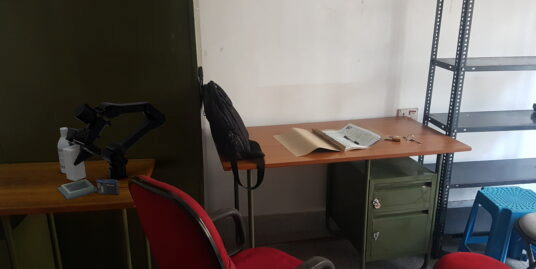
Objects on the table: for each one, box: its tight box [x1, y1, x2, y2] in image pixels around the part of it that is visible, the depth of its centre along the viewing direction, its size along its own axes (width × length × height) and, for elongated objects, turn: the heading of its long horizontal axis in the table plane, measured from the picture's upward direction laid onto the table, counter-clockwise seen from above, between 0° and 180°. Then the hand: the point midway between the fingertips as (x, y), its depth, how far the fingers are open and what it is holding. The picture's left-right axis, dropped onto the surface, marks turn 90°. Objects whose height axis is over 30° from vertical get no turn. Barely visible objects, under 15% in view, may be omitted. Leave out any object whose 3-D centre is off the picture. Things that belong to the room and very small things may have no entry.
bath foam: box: [57, 126, 70, 174], centre depth 189 cm, size 7×7×20 cm
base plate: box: [57, 178, 98, 201], centre depth 173 cm, size 12×12×2 cm
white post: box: [62, 145, 87, 182], centre depth 170 cm, size 5×5×12 cm
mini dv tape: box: [96, 178, 120, 196], centre depth 170 cm, size 8×2×6 cm, turn 80°
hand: (70, 163), depth 168 cm, fingers closed on white post, 5 cm apart
